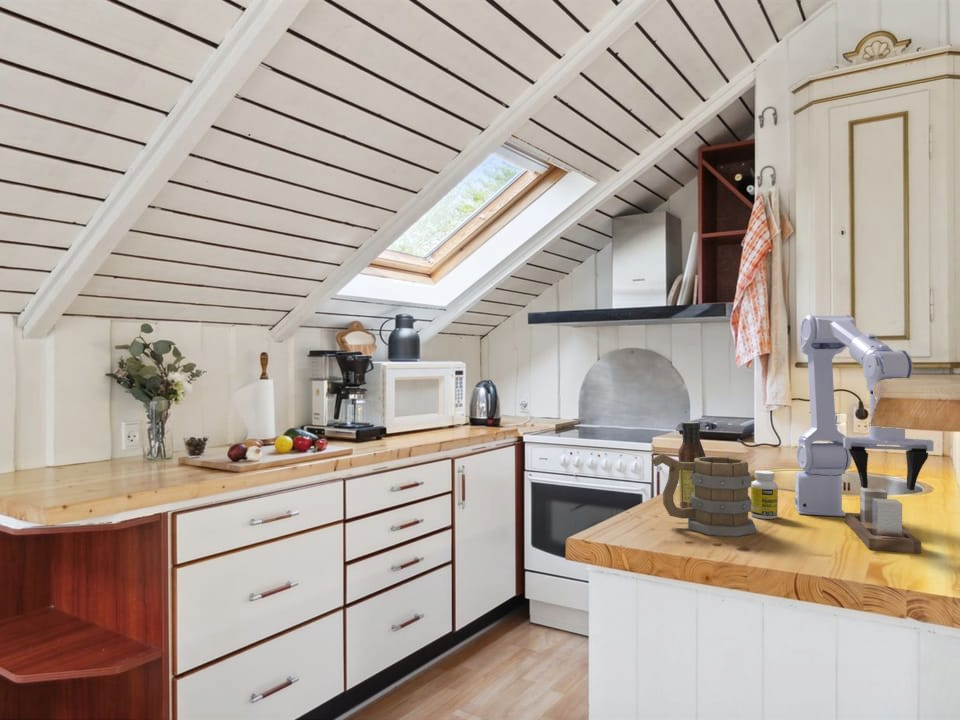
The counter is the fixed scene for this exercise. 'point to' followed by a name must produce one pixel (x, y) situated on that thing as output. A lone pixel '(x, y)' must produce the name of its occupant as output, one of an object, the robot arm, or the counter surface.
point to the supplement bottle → (764, 495)
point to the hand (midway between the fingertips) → (887, 488)
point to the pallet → (864, 526)
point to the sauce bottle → (688, 460)
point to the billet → (887, 518)
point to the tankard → (712, 495)
